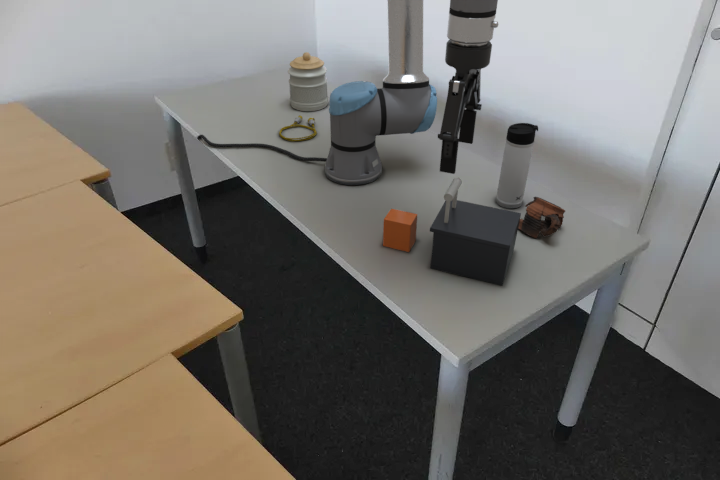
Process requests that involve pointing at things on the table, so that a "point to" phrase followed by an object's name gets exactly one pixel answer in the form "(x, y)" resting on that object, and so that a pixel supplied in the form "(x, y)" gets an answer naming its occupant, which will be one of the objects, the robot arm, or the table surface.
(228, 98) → the table surface
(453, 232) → the hinged box lid
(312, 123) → the extension cord
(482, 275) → the open box
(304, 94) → the jar
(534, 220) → the pottery mug
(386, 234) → the orange block
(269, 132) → the table surface
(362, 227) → the table surface
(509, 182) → the travel mug
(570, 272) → the table surface
